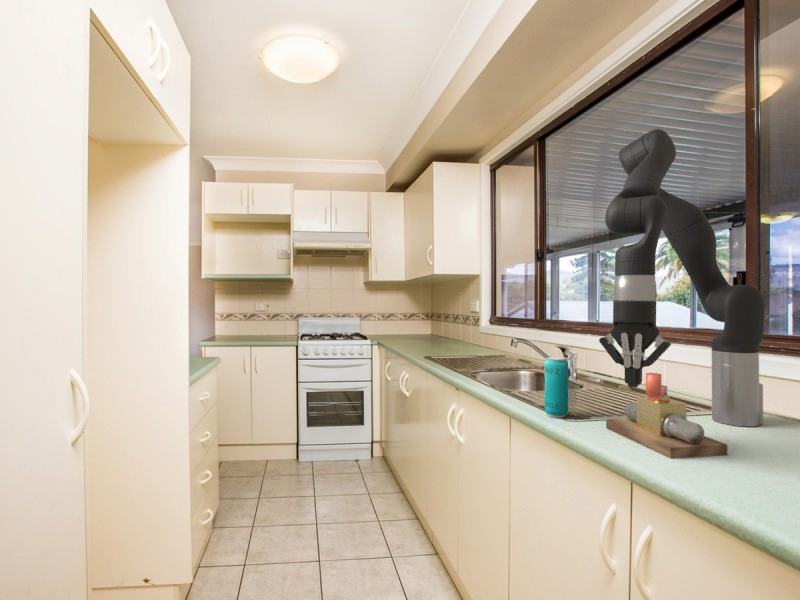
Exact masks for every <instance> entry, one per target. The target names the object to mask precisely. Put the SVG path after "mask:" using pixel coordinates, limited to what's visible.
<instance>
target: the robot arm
mask: <svg viewBox="0 0 800 600" xmlns="http://www.w3.org/2000/svg"><path fill="white" fill-rule="evenodd" d="M676 155H677V149H676V146H675V144H674V141H673V140H672V138H671V137H670V135H669V134H668V133H667V132H666V131H665V130H663V129H661V128H654V129H653V130H650V131H648V132H647V133H644V134H643V135H641V136H639V137H637V139H634V140H633V141H632V142H630V143H629V144H627V145H625V146H624V147H622V148H621V149H620V150H619V152H618V159H619V161H620V165H621V166H622V168H623V170H624V172H625V173H626V175H627V178H626V179H625V181H624V185H623V187H622V190H621V191H620V192H619V193H618V194H617V195H616V196H614V197H613V199H612V200H611V201H610V202H609V204H608V206H607V208H606V211H605V217H604V222H605V225H606V227H607V229H608V230H609V231H610V232H612V233H613V234H615V235H632V234H642V233H643V234H644V235H643V237H642V238H641V239H640V240H639V241H638V242H635V243H632V244H627V245H624V246H620V247H618V248H617V249H616V251H615V255H614V281H613V287H612V288H613V291H612V292H613V293H612V294H613V295H612V296H613V297H612V301H613V303H612V326H611V328H610V329H609V333H608V334H607V335H605V336H603V337H600V338H599V340H598V341H599V343H600V345H601V346H602V347H603V348H604V350H605V351H606V353H608V355H609V357H611V359H612V360H613V362H614V363H615V364H619V365H621V366H622V367H623V368H624V383H625V384H627V387H628V388H638V387H639V386H640V385H641V384H642V382H643V368H645V367H650V366H652V365H653V364H655V362H656V361H657V360H658V359H660V357H661V356H662V355H663V354H664V353H665V352H666V351H667V350H668V349H669V348H670V347H671V346H672V343H671V341H669V340H667V339H665V338H663V337H662V336H661V335H660V332H659V330H658V327H657V299H658V293H657V281H656V257H657V256H656V255H657V247H658V242H659V239H660V236H661V233H663V234H664V236H665V237H666V239H667V240H668V242H669V244H670V246H671V247H672V249H673V251H674V253H676V255H677V258H679V261H680V262H681V264H682V266H683V268H684V270H685V271H686V273H687V275H688V276H689V278H690V280H691V283H692V285H693V287H694V289H695V291H696V293H697V297H698V298H699V301H700V302H701V305H702V307H703V309H704V311H705V312H706V314H707V315H708V316H709V318H711V319H712V320H714V321H715V322H721V323H724V324H723V331H722V333H721V334H720V335H717V336H716V337H713V338H712V339H711V419H712V420H713V421H715V422H718V423H721V424H725V425H731V426H735V427H736V426H738V427H758V426H760V425H764V386H763V384H762V383H761V382H760V346H761V343H762V341H763V339H764V329H765V311H766V310H765V309H766V308H765V307H766V305H765V301H764V300H765V299H764V296H763V295H762V293H761V292H760V290H759V289H758V288H756V287H755V286H752V285H749V284H732V285H730V284H729V282H728V281H727V280H726V278H725V277H724V275H723V273H722V271H721V270H720V267H719V265H718V263H717V262H718V261H717V239H716V233H715V230H714V229H713V227H712V225H711V223H710V221H709V220H708V218H707V216H706V215H705V212H704V211H703V210H702V209H701V208H700V207H699V206H697V205H695V203H692V202H690V201H688V200H686V199H683V198H681V197H678V196H676V195H674V194H672V193H670V192H668V191H667V190H664V189H662V187H661V185H662V182H663V180H664V178H665V176H666V175H667V173H668V171H669V169H670V168H671V166H672V164H673V163H674V161H675V160H676ZM615 342H616V343H617V345H618V346H619V347H620V348H621V349H622V354H621V353H620V351H619V350H618V349H617V348H616V346H615V345H614V344H615ZM654 342H655V344H654V347H655V349H654V351H653V352H651V354H650V355H649V356H648V357H646V359H644V358H645V355H646V350H647V349H649V347H650V346H651V345H652V344H653V343H654Z"/></svg>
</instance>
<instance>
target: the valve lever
mask: <svg viewBox="0 0 800 600" xmlns="http://www.w3.org/2000/svg"><path fill="white" fill-rule="evenodd" d="M645 395H647V397H648V401H657V402H658V401H659V400H660V399H661V397H662V396H663V395H668V386H667V385H663V384H662V373H657V372H646V373H645Z"/></svg>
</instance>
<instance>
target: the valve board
mask: <svg viewBox="0 0 800 600" xmlns="http://www.w3.org/2000/svg"><path fill="white" fill-rule="evenodd" d="M624 416H625V417H626V418H613V419H606V420H605V423H606V424H605V427H606V429H607V430H609V431H610V432H611V431H612V432H613V433H615V434H617V435H620V436H622V437H624V438H627V439H628V440H630V441H633V442H635V443H636V444H639V445H642V446H643V447H646V448H648V449H650V450H652V451H654V452H656V453H658V454H661V455H663V456H665V457H666V458H669V459H683V458H699V457H715V456H727V455H728V444H727V443H724V442H722V441H718V440H715V439H714V438H711V437H708V436H705V430H704V428H703V426H702V425H701V424H699V423H696V422H693V421H691V420H688V419H687V403H686V402H683V401H679V400H675V399H673V398H670V395H668V394H667V395H663V396H662V397H661V399H660V400H659V401H658V402H657V401H648V396H637V397H636V402H634V401H633V402H629V403H628V404H627V405H626V406H625V407H624Z"/></svg>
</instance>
